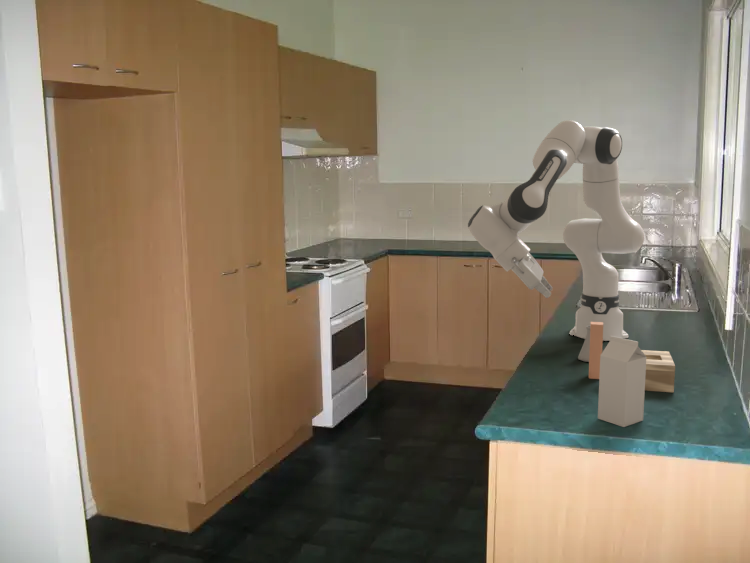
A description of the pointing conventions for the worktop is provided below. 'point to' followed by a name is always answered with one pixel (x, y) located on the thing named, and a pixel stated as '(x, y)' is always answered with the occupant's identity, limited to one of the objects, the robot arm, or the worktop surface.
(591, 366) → the long pin
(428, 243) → the worktop surface
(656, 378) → the tan block with hole
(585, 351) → the flask
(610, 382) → the milk carton
